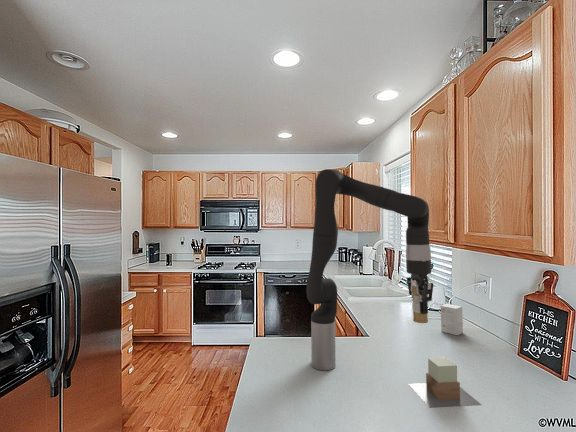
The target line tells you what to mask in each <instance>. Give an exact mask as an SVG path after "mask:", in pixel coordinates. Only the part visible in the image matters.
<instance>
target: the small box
mask: <svg viewBox="0 0 576 432" xmlns="http://www.w3.org/2000/svg"><path fill="white" fill-rule="evenodd" d="M463 320H464V318H463V306H461V305H455V304H449V303H446V304H445V303H444V304H443V305H440V327H441V330H440V331H441V333H442V332H443V333H445V334H451V335H453V336H454V335H455V336H459V335H461V334H463V333H464V322H463Z"/></svg>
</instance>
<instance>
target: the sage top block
mask: <svg viewBox="0 0 576 432" xmlns="http://www.w3.org/2000/svg"><path fill="white" fill-rule="evenodd" d="M427 362H428V363H427V366H428V368H427V369H428V370H427V371H428V372H427V373H428V374H429V375H430V376H431V377H433V378H434V379H435V380H436V381H437V382H438V383H445V382H457V381H458V365H457V364H455V363H454V362H453V361H451V360H450V359H448V358H447V357H428V359H427Z"/></svg>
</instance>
